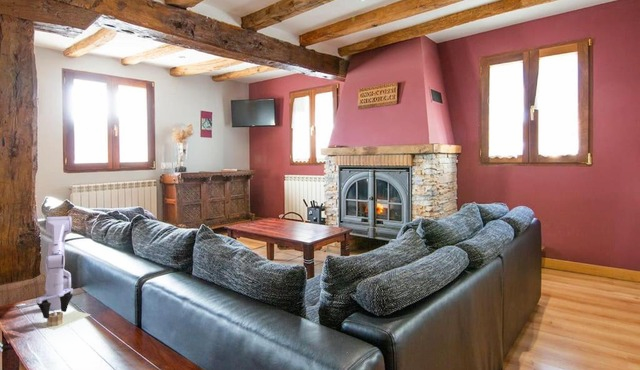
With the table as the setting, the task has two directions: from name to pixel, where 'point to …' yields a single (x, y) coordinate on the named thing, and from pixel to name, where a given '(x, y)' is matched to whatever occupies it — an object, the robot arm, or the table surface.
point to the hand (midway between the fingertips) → (55, 314)
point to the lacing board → (66, 319)
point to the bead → (55, 319)
